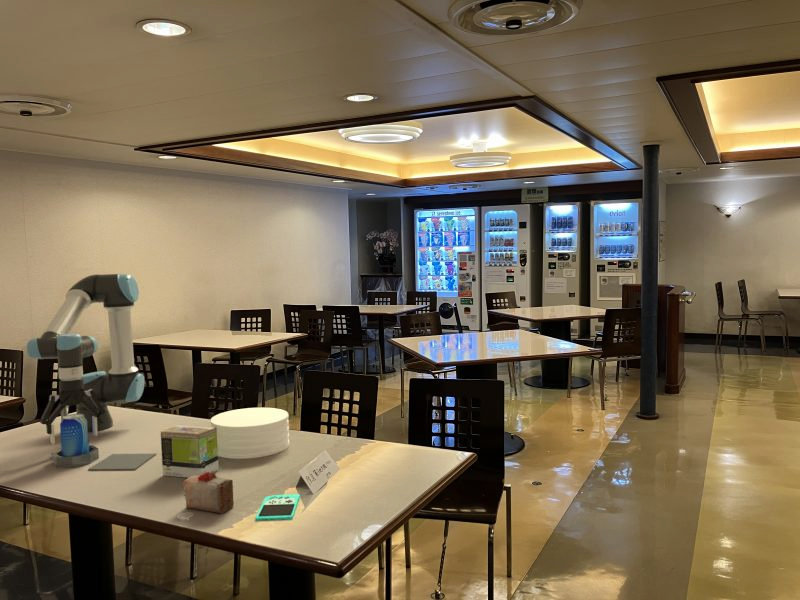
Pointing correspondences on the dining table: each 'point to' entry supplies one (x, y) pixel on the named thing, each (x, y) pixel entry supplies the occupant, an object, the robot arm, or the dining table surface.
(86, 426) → the beer can
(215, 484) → the food item
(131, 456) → the rubber mat
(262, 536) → the dining table surface
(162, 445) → the tea box
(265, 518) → the handheld game console
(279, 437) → the plate stack
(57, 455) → the ring stand
